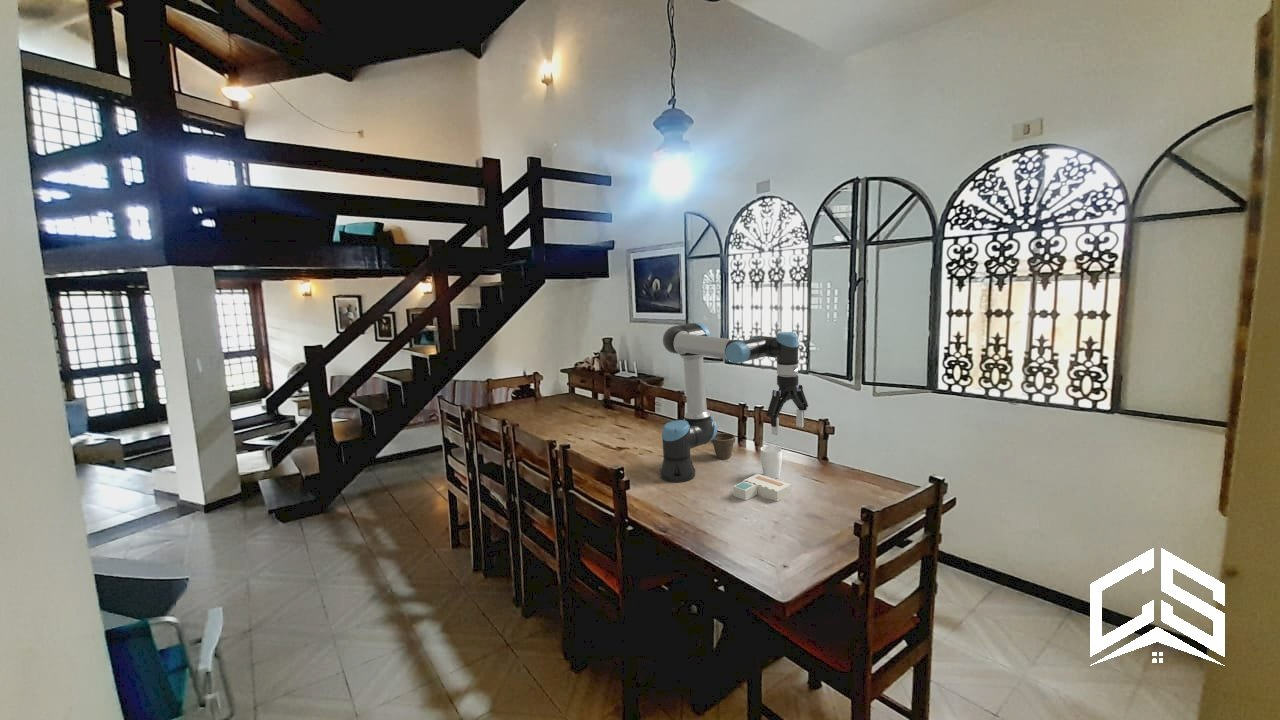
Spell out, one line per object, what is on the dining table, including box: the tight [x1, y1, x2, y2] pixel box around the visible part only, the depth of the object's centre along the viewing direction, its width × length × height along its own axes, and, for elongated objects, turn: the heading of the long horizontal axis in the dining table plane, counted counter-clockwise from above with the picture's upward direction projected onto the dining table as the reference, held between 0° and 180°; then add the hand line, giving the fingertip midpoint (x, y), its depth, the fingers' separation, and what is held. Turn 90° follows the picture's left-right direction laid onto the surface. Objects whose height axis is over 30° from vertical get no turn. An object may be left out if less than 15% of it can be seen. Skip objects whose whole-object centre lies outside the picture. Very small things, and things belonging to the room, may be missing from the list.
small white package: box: [742, 473, 792, 502], centre depth 206 cm, size 16×9×4 cm, turn 40°
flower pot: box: [710, 432, 736, 460], centre depth 246 cm, size 12×11×10 cm
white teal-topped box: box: [732, 481, 758, 501], centre depth 204 cm, size 6×7×4 cm
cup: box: [759, 445, 783, 480], centre depth 220 cm, size 9×9×12 cm
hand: (787, 430), depth 195 cm, fingers open, 13 cm apart
